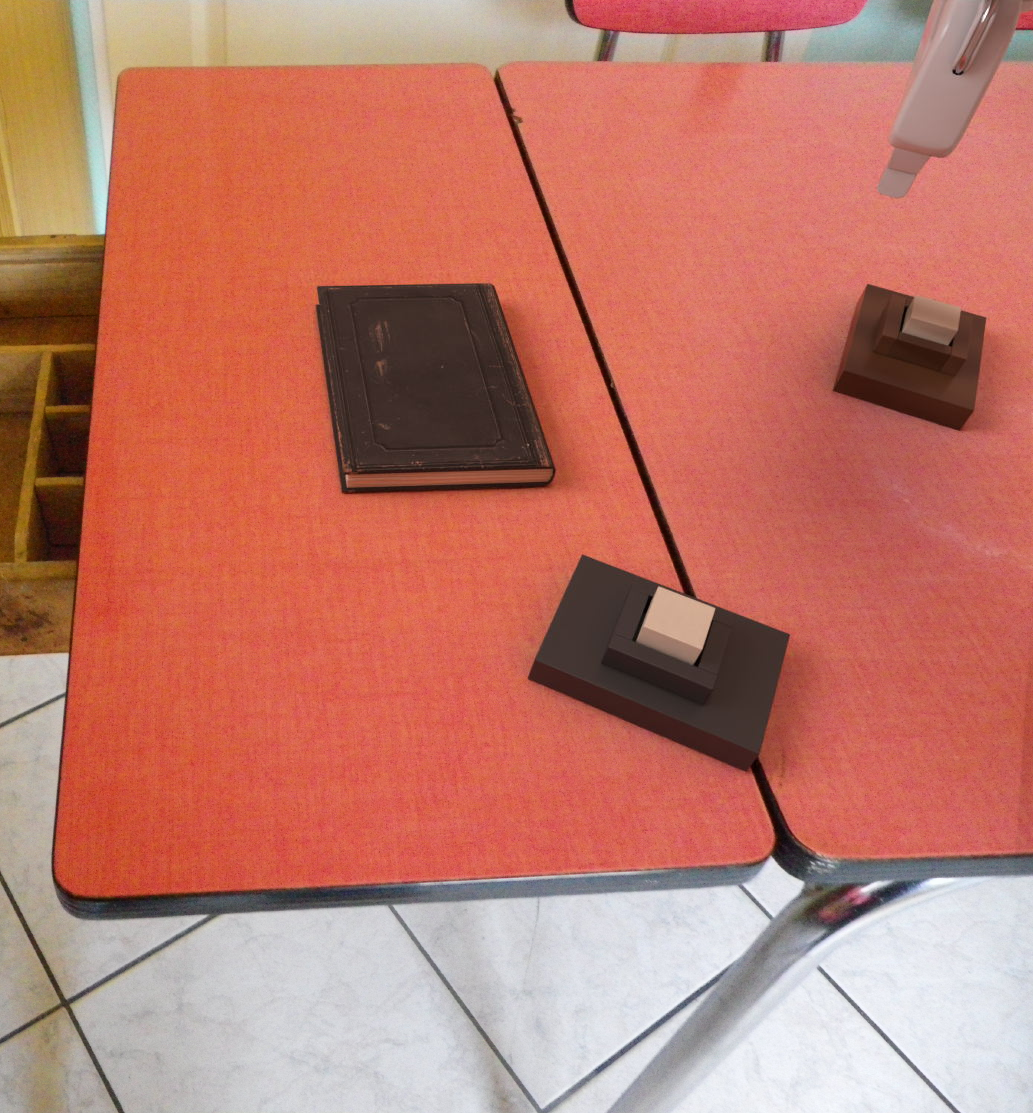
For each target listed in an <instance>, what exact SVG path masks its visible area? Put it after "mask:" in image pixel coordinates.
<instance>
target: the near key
mask: <svg viewBox="0 0 1033 1113" xmlns="http://www.w3.org/2000/svg"><path fill="white" fill-rule="evenodd" d="M714 612H715V608H714V607H711V606H709V605H706V604H703V603H701V602H698V601H696V600H693V599H690V598H688V597H685V596H683V595H680V594H678V593H675V592H672V591H670V590H667V589H665V588H662V587H658V589H657V591H656V593H655V595H654V597H653V599H652V601H651V603H650V606H649V608H648V611H647V614H646V616H645V619H644V621H643V624H642V627H641V629H640V632H639V635H638V637H637V640H636V643H639V644H641V645H644V646H646V647H649V648H651V649H654V650H656V651H659V652H661V653H664V654H666V655H668V656H671V657H673V658H676V659H678V660H681V661H683V662H686V663H688V664H691V665H694V663H695V661H696V660H697V658H698V656H699V654H700V653H701V651H702V649H703V646H704V643H705V640H706V637H707V634H708V630H709V627H710V624H711V621H712V618H713V615H714Z"/></svg>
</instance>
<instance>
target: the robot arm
mask: <svg viewBox="0 0 1033 1113" xmlns="http://www.w3.org/2000/svg"><path fill="white" fill-rule="evenodd" d="M1031 11H1033V0H933V1H932V4H931V7H930V10H929V13H928V16H927V20H926V24H925V28H924V30H923V33H922V36H921V40H920V41H919V45H918V49H917V51H916V54H915V57H914V60H913V63H912V66H911V68H910V71H909V74H908V77H907V80H906V83H905V85H904V88H903V92H902V94H901V97H900V100H899V103H898V106H897V110H896V112H895V114H894V118H893V120H892V123H891V127H890V130H889V133H888V137H887V140H888V144H889V146H891V147H893V150H892V152H891V154H890V157H889V159H888V161H887V163H886V166H885V167H884V170H883V171H882V174H881V176H880V179H879V181H878V183H877V187H876V191H877V193H879V195H883V196H886V197H889V198H893V199H902V198H905V197H906V196H907V195H908V193H909V191H910V189H911V187H912V186H913V184H914V182H915V180H916V178H917V176H918V175H919V173H920V172H921V171H922V169H923V168H924V167H925V165H926V164H927V163H928V161H929V160H930V158H931V157H934V158H939V159H945V158H948V157H949V156H950V155H952V153H953V152H954V151H955V150H956V149H957V147H958V145H959V144H960V142H962V139H963V137H964V135H965V134H966V132H967V130H968V128H969V126H970V125H971V122H972V120H973V119H974V116H975V114H976V113H977V111H978V109H979V107H980V105H981V103H982V101H983V99H984V97H985V95H986V93H987V91H988V89H989V88H990V85H991V83H992V81H993V79H994V77H995V75H996V73H997V71H998V69H999V67H1000V65H1001V64H1002V61H1003V59H1004V57H1005V55H1006V53H1007V51H1008V48H1009V46H1010V44H1011V41H1012V40H1013V37H1014V34H1015V31H1016V28H1017V26H1018V23H1019V21H1020V15H1021V14H1023V13H1027V12H1031Z"/></svg>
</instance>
